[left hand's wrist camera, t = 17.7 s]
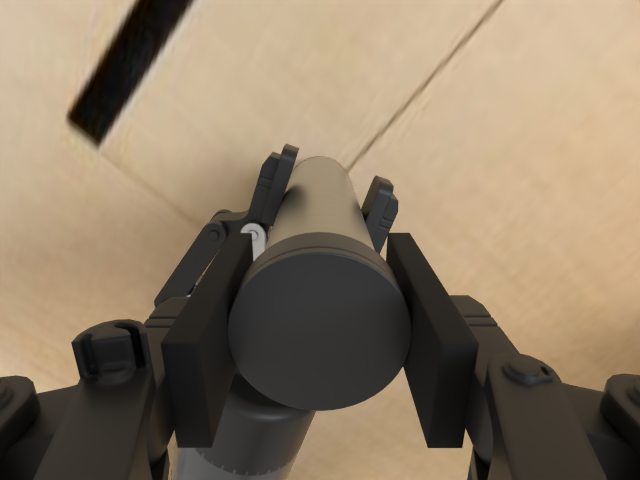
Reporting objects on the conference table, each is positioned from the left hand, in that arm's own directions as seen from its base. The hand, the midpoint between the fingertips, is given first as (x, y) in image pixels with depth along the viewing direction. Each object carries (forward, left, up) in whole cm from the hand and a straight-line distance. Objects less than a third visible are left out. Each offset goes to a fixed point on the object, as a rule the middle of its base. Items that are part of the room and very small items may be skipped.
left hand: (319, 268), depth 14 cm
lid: (0, 0, +4) cm, 4 cm away
